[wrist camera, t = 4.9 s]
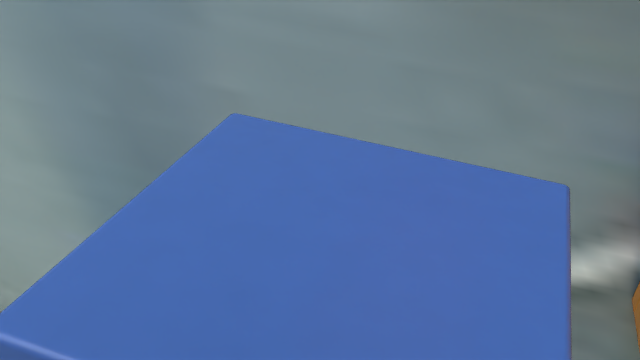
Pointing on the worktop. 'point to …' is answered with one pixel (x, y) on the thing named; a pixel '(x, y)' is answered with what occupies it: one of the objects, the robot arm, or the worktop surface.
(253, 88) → the worktop surface
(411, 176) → the blue block
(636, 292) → the amber tray
